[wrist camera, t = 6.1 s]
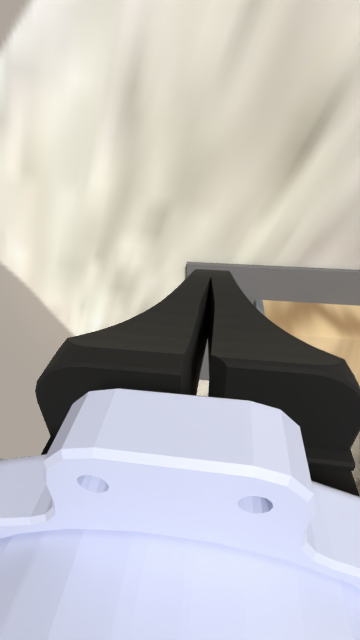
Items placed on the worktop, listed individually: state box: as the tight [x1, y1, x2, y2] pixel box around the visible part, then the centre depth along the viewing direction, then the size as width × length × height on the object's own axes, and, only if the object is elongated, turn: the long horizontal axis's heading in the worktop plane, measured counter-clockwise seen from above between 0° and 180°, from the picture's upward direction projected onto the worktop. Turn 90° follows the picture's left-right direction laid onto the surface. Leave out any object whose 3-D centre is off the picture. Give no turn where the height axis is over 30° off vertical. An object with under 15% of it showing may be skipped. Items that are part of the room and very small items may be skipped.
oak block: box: [255, 300, 360, 386], centre depth 23 cm, size 4×6×8 cm
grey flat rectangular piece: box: [187, 262, 360, 380], centre depth 25 cm, size 15×11×1 cm
